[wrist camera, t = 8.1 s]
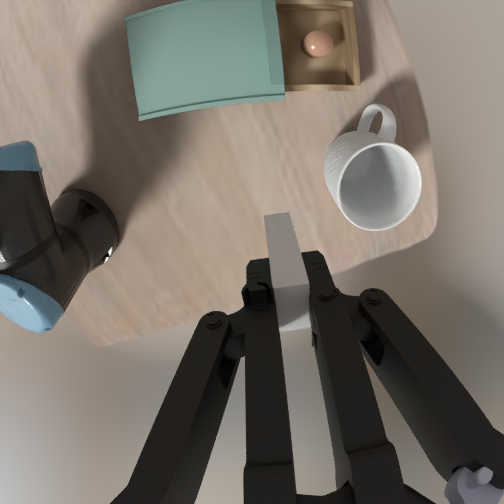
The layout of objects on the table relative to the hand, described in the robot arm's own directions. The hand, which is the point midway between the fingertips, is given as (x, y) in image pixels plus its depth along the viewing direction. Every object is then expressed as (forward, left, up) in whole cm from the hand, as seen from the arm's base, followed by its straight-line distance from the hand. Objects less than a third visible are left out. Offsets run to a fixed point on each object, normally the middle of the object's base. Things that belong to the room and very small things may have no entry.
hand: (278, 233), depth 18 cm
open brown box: (+4, +14, -26) cm, 30 cm away
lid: (-6, +14, -24) cm, 28 cm away
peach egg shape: (+8, +14, -26) cm, 30 cm away
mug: (+13, -2, -27) cm, 30 cm away
